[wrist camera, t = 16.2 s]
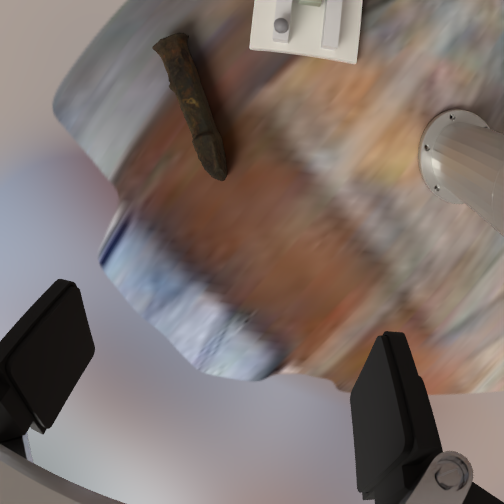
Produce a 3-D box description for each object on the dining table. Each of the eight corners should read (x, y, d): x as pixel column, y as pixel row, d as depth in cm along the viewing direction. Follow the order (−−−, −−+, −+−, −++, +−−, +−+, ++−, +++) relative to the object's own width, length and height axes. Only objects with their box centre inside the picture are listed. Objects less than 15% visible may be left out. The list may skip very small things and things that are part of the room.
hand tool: (160, 46, 33) (145, 42, 29) (190, 34, 32) (177, 28, 28) (206, 181, 41) (196, 192, 37) (235, 173, 40) (228, 183, 36)
